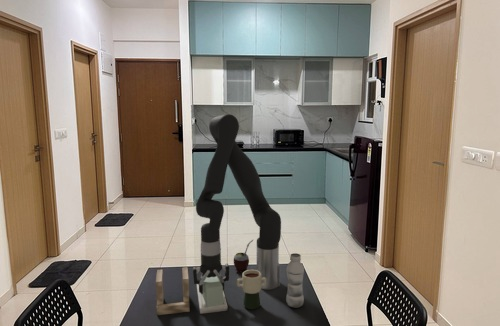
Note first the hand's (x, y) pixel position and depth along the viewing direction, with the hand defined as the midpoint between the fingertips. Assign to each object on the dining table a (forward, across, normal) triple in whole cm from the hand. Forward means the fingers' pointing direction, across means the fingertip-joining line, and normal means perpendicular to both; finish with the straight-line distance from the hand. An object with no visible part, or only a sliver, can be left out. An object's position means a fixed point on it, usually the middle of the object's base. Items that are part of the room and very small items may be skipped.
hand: (211, 291), depth 138 cm
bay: (+4, +15, -1) cm, 15 cm away
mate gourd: (+4, -16, -24) cm, 29 cm away
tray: (+4, 0, -2) cm, 5 cm away
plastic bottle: (+4, -30, +10) cm, 32 cm away
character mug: (+4, -14, +6) cm, 16 cm away
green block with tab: (+3, 0, -2) cm, 3 cm away
